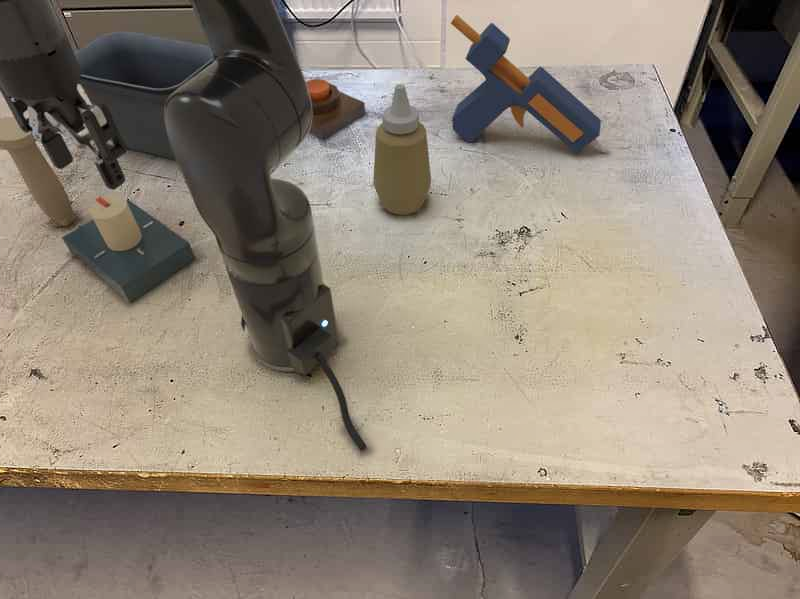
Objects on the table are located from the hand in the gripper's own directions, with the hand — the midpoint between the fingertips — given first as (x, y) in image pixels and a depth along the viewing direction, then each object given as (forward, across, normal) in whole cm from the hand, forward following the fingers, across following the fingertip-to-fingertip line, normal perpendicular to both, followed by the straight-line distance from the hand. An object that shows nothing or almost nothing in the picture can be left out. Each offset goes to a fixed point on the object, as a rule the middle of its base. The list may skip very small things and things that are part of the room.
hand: (90, 174), depth 70 cm
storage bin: (+14, -14, +24) cm, 31 cm away
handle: (+14, -14, +1) cm, 19 cm away
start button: (+10, +4, +40) cm, 42 cm away
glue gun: (+13, +37, +48) cm, 62 cm away
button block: (+13, +4, +40) cm, 42 cm away
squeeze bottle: (+13, +27, +26) cm, 40 cm away
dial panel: (+13, 0, 0) cm, 13 cm away
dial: (+10, 0, 0) cm, 10 cm away
